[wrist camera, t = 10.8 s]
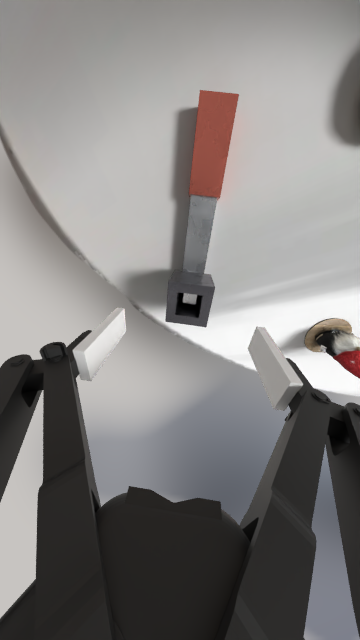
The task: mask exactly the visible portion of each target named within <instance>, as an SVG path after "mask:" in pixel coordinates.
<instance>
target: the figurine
mask: <svg viewBox="0 0 360 640" xmlns="http://www.w3.org/2000/svg"><path fill="white" fill-rule="evenodd" d="M333 331H335V332H333ZM331 332H332V333H331ZM351 332H352V327H351V325H350V324H349V323H348V322H347V321H345V320H342V319H328V320H324V321H322V322H320V323H317V325H314V327H313V328H312V329H311V330H310V331H308V332H307V336H306V338H305V345H306V346H307V348H308V349H310V350H311V351H313V352H324V353H325V352H327V353H328V354H329V355H331V356H332V357H333V359H335V360H336V361H338V362H339V363H340V364H341V365H342V366H343V367H344V368H345V369H346V370H348V371H349V372H350V373H352V374H353V375H355V376H356V377H358V378H360V338H358V337H356V336H355V335H354V334H353V333H351Z"/></svg>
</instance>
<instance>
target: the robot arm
mask: <svg viewBox="0 0 360 640" xmlns="http://www.w3.org/2000/svg"><path fill="white" fill-rule="evenodd" d="M125 332H126V324H125V309H124V308H118V307H117V308H116V309H115V310H114V311H113V312H112V313H111V314H109V315H108V316H107V317H106V318H105V319H104V320H103V321H102V322H101V323H100V324H99V325H98V326H97V327H96V328H95V329H94V330H93V331H91V330H88V331H86V332H84V333H82V334H81V335H80V336H79V337H78V338H76V339H75V341H73V342H72V343H71V344H70V345H69V346H68V347H66V345H65V344H64V343H62V342H53V343H50V344H47V345H45V346H44V347H42V348H41V350H40V354H41V356H42V359H40V360H32V359H31V357H30V356H29V355H18V356H15V357H12V358H10V359H8V360H7V361H5V362H4V363H3V365H2V366H1V368H0V502H1V499H2V496H3V494H4V491H5V488H6V486H7V483H8V480H9V478H10V474H11V472H12V469H13V467H14V464H15V461H16V459H17V456H18V453H19V451H20V448H21V445H22V443H23V440H24V437H25V435H26V432H27V429H28V426H29V424H30V421H31V418H32V416H33V413H34V410H35V408H36V405H37V402H38V400H39V397H40V394H41V392H42V390H44V414H43V417H44V419H43V428H44V429H43V433H44V434H43V448H44V449H43V484H42V486H41V487H40V488H39V492H38V510H37V554H36V579H35V580H34V582H33V583H32V584H31V585H30V586H29V587H28V588H27V589H26V590H25V592H24V593H23V594H22V595H21V596H20V597H19V598H18V599H17V601H16V602H15V603H14V604H13V605H12V606H11V607H10V608H9V609H8V611H7V612H6V613H5V614H4V615H3V616H2V617H1V619H0V640H305V639H304V638H303V635H304V629H305V622H306V615H307V608H308V601H309V594H310V587H311V580H312V573H313V566H314V559H315V551H316V537H315V534H314V533H313V531H312V528H311V525H312V518H313V512H314V506H315V500H316V495H317V489H318V483H319V477H320V471H321V466H322V460H323V454H324V448H325V444H326V449H327V456H328V462H329V467H330V473H331V479H332V485H333V491H334V497H335V502H336V508H337V515H338V520H339V526H340V532H341V538H342V544H343V550H344V555H345V562H346V567H347V573H348V579H349V585H350V591H351V597H352V603H353V608H354V613H355V618H356V623H357V628H358V632H359V637H360V405H357V404H355V403H347V404H346V405H345V406H341V405H338V404H336V403H333V402H331V401H330V399H329V398H328V397H327V396H326V395H325V394H324V393H322V392H321V391H319V390H317V389H314V388H313V387H312V386H311V384H310V383H309V382H308V380H307V379H306V378H305V376H304V375H303V374H302V372H301V371H300V370H299V368H298V367H297V365H296V364H295V363H294V362H293V361H292V360H290V359H288V358H285V357H284V355H283V354H282V352H281V351H280V349H279V348H278V347H277V345H276V344H275V342H274V341H273V339H272V338H271V336H270V335H269V334H268V332H267V331H266V329H265V328H262V327H256V330H255V332H254V335H253V337H252V340H251V342H250V345H249V347H248V350H249V353H250V355H251V357H252V360H253V362H254V364H255V367H256V369H257V371H258V374H259V376H260V378H261V381H262V383H263V385H264V388H265V390H266V392H267V395H268V397H269V399H270V402H271V404H272V407H273V409H277V410H283V411H284V410H285V409H286V408H287V407H288V405H289V407H290V409H291V412H290V413H289V414H288V416H287V417H286V419H285V421H286V422H285V425H284V427H283V429H282V432H281V434H280V436H279V439H278V441H277V443H276V446H275V448H274V451H273V453H272V455H271V458H270V460H269V462H268V465H267V467H266V469H265V472H264V474H263V477H262V479H261V481H260V484H259V486H258V488H257V491H256V493H255V495H254V498H253V500H252V503H251V505H250V507H249V509H248V511H247V513H246V514H245V516H244V518H243V519H242V521H241V523H240V526H239V525H238V524H237V522H236V521H235V520H234V519H233V518H232V517H231V516H230V515H229V514H227V513H226V512H225V511H223V510H222V509H221V504H220V502H219V501H213V500H207V499H201V498H195V499H190V500H186V501H181V502H177V503H173V502H171V501H169V500H167V499H166V498H164V497H162V496H161V495H159V494H157V493H155V492H154V491H152V490H149V489H143V488H137V487H131V486H129V489H128V492H127V493H123V494H121V495H118V496H116V497H114V498H112V499H111V500H109V501H108V502H106V503H105V504H104V505H103V506H102V507H101V505H100V500H99V496H98V491H97V487H96V483H95V478H94V472H93V467H92V462H91V456H90V451H89V446H88V440H87V435H86V430H85V425H84V419H83V414H82V409H81V403H80V398H79V393H78V387H77V382H76V377H77V376H78V375H80V378H81V380H87V381H92V379H93V378H94V376H95V375H96V373H97V372H98V370H99V369H100V368H101V366H102V365H103V363H104V362H105V360H106V359H107V358H108V356H109V355H110V353H111V352H112V351H113V349H114V348H115V346H116V345H117V343H118V342H119V340H120V339H121V338H122V336H123V335H124V333H125Z"/></svg>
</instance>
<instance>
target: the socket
mask: <svg viewBox="0 0 360 640" xmlns="http://www.w3.org/2000/svg"><path fill="white" fill-rule="evenodd" d="M214 290H215V286H214V283H213V280H212V277H211V275H210V274H202V273H195V272H187V271H179V270H174V272H173V274H172V276H171V278H170V280H169V282H168V295H167V309H166V322H173V323H180V324H187V325H194V326H202V327H206V326H207V321H208V317H209V312H210V308H211V303H212V299H213V294H214ZM180 293H187V294H195V295H199V298H198V300H196V304H188V303H183V298H181V297H180Z"/></svg>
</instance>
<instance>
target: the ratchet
mask: <svg viewBox="0 0 360 640" xmlns="http://www.w3.org/2000/svg"><path fill="white" fill-rule="evenodd" d="M238 96H239V94H232V93H223V92H213V91H203V90H200V95H199V105H198V114H197V123H196V132H195V142H194V151H193V160H192V169H191V179H190V188H189V197H191V200H190V209H189V218H188V227H187V236H186V244H185V253H184V262H183V271H187V272H195V273H202V274H204V270H205V264H206V258H207V253H208V247H209V242H210V236H211V230H212V225H213V219H214V213H215V208H216V202H217V201H218V199H219V198H220V194H221V189H222V183H223V178H224V172H225V167H226V161H227V156H228V150H229V145H230V140H231V134H232V129H233V123H234V118H235V112H236V107H237V101H238ZM180 297H181V298H183V303H188V304H196V300H198V298H199V295H195V294H187V293H180Z"/></svg>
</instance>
